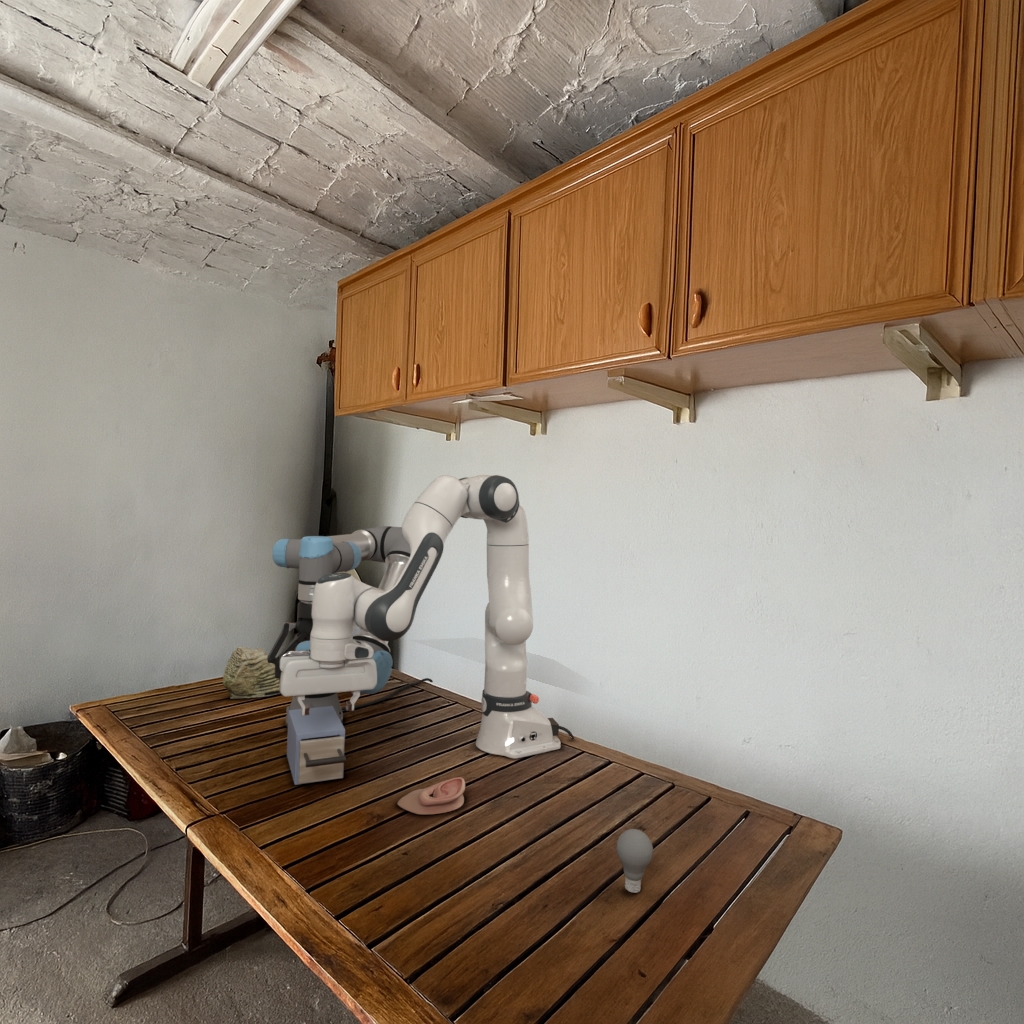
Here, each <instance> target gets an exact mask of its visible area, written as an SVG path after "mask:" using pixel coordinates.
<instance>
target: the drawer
mask: <svg viewBox="0 0 1024 1024" xmlns="http://www.w3.org/2000/svg"><path fill="white" fill-rule="evenodd" d="M343 751H344V752H345V747H344V737H343V736H339V737H337V735H334V736H326V737H317V738H308V739H301V741H300V748H299V774H298V783H299V784H298V785H303V784H302V783H305V784H310V783H309V782H312V783H317V782H316V781H319V782H324V781H323V780H326V781H331V780H330V779H333V780H338V779H337V778H340V779H343V778H342V776H343V777H344V772H343V763H344V764H345V763H346V762H347V758H346V755H344V756H343Z"/></svg>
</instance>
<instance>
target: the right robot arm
mask: <svg viewBox="0 0 1024 1024" xmlns="http://www.w3.org/2000/svg"><path fill="white" fill-rule="evenodd" d="M519 496H520V495H519V492H518V489H517V486H516V485H515V482H513V481H512V480H511V479H510V478H508V477H506V476H503V475H499V474H493V475H489V474H482V475H481V474H478V475H475V476H470V477H467V476H466V477H461V478H459V479H458V478H456V477H455V476H452V475H449V474H448V475H447V474H445V475H444V474H443V475H440V476H438V477H436V478H435V479H434V480H432V481H431V482H430V484H428V485H427V486H426V488H425V489H424V490H423V491H422V492H421V493H420V495H419V496H418V497H417V498H416V500H415V501H414V502H413V503H412V505H411V507H410V508H409V510H408V511H407V512H406V514H405V516H404V518H403V520H402V523H401V527H402V534H403V537H404V539H405V541H406V542H407V544H408V545H409V546H410V549H411V555H410V558H409V560H408V562H407V564H406V566H405V567H404V569H403V571H402V573H401V575H400V577H399V578H398V580H397V582H396V584H395V585H394V586H393V587H392V588H391V589H390V590H388V591H384V590H382V589H379V587H375V586H372V585H369V584H367V583H364V582H362V581H360V580H359V579H357V578H356V577H355V576H353V575H352V574H351V573H349V572H338V573H332V574H328V575H325V576H323V577H321V578H320V579H319V580H318V581H317V583H316V585H315V589H314V594H313V601H312V614H311V615H312V620H313V627H312V630H311V634H310V649H309V650H301V651H296V650H293V651H288V652H287V653H286V654H284V655H282V657H281V658H280V663H279V668H280V671H281V677H280V684H279V690H280V695H281V696H283V697H285V698H288V697H289V698H290V697H293V696H296V698H297V700H298V702H299V704H300V706H301V715H302V716H305V715H309V711H310V707H309V705H304V703H303V702H302V700H305V695H313V694H324V693H336V692H337V693H346V692H347V693H348V692H350V691H352V692H351V694H352V695H351V698H350V699H349V700H347V701H345V707H346V710H345V711H346V712H354V711H355V709H354V706H355V704H356V702H357V701H358V700H359V698H360V696H361V694H360V690H371V689H374V688H375V686H376V685H377V667H376V663H375V661H374V660H373V659H372V657H373V654H374V650H373V648H372V647H371V646H370V645H369V644H367V643H365V642H362V641H358V640H355V639H353V636H354V631H355V630H358V629H359V630H360V629H362V630H364V631H367V632H369V633H371V634H372V635H374V636H375V637H377V638H379V639H380V640H383V641H389V642H393V641H396V640H399V639H400V638H402V637H404V636H405V635H406V634H407V633H408V631H409V630H410V629H411V627H412V625H413V622H414V619H415V615H416V611H417V607H418V605H419V601H420V600H421V598H422V596H423V594H424V593H425V590H426V588H427V587H428V584H429V582H430V580H432V579H431V578H432V577H433V575H434V573H435V572H436V569H437V567H438V565H439V563H440V561H441V559H442V556H443V553H444V545H445V543H446V541H447V538H448V537H449V535H450V534H451V532H452V530H453V529H454V527H455V525H456V524H457V522H458V520H459V519H460V518H463V519H472V520H483V522H484V524H485V526H486V579H487V580H486V581H487V590H488V591H487V592H488V593H487V594H488V603H487V605H486V607H485V611H484V655H485V656H484V659H485V662H484V663H485V664H484V682H483V683H484V687H483V690H482V693H481V696H482V697H481V704H480V705H481V713H482V714H481V720H480V725H479V730H478V734H477V737H476V739H475V746H476V748H477V749H479V750H480V751H482V752H485V753H488V754H492V755H496V756H497V755H498V756H504V757H507V758H510V759H514V760H515V759H521V758H525V757H531V756H534V755H535V756H536V755H538V754H544V753H547V752H552V751H556V750H560V749H561V748H562V743H561V740H560V739H559V737H558V736H559V733H560V732H559V730H560V731H561V730H562V731H564V732H565V733H566V734H567V735H568V736H569V737H570V736H571V737H572V738H571V737H570V739H571V740H574V739H575V736H574V735H573V734H572V731H570V729H568V728H566V727H564V726H562V725H560V724H559V723H558V722H557V721H556V720H555V719H554V717H547V716H546V715H545V714H543V713H542V711H540V710H539V709H538V708H537V707H535V706H534V705H533V704H535V705H537V704H539V702H540V698H539V696H537V695H536V694H532V693H531V692H530V691H528V690H527V681H528V679H527V678H528V677H527V676H528V655H527V644H526V643H527V640H529V638H530V637H531V635H532V633H533V629H534V615H533V614H534V613H533V599H532V598H533V597H532V588H531V581H530V579H531V578H530V536H529V528H528V527H529V526H528V519H527V515H526V511H525V509H524V507H523V506H522V505H521V504H520V497H519ZM286 655H287V656H286ZM296 655H297V656H296Z"/></svg>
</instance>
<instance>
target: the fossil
mask: <svg viewBox="0 0 1024 1024" xmlns="http://www.w3.org/2000/svg"><path fill="white" fill-rule="evenodd" d="M268 655H269V654H267V653H266V652H265V650H264V649H263V648H260V647H258V648H251V647H247V646H246V647H245V646H238V647H237V648H236V649H235V650H233V651H232V653H231V656H230V657H229V659H228V660H227V663H226V666H225V668H224V671H223V675H222V676H223V677H222V685H223V687H224V688H225V690H226V691H228V693H229V698H230V699H250V698H264V697H271V696H275V695H281V693H280V691H279V681H280V678H277V679H276V677H275V664H273V663H268V661H267V657H268Z"/></svg>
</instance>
